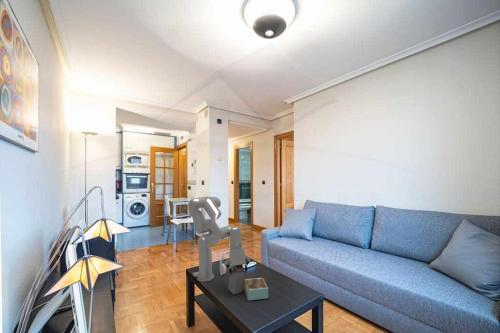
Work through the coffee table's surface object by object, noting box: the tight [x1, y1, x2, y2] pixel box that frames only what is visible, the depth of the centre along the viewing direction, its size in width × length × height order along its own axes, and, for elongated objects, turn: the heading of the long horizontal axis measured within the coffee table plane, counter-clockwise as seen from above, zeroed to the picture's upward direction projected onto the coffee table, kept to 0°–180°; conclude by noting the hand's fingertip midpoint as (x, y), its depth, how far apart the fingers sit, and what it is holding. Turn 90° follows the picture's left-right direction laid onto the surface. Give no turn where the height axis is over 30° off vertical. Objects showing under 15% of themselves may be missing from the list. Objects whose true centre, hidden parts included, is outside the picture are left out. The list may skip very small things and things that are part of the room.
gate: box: [246, 287, 269, 301], centre depth 133 cm, size 13×1×6 cm, turn 100°
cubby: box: [243, 277, 269, 299], centre depth 140 cm, size 13×12×7 cm
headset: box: [219, 249, 230, 276], centre depth 169 cm, size 20×7×18 cm, turn 124°
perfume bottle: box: [227, 264, 246, 295], centre depth 142 cm, size 7×7×18 cm
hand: (238, 273), depth 140 cm, fingers open, 9 cm apart
